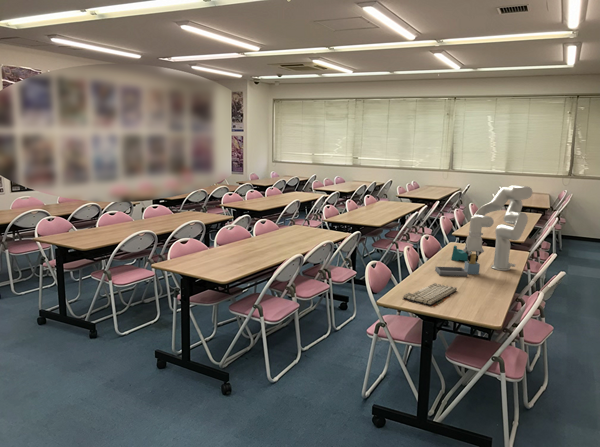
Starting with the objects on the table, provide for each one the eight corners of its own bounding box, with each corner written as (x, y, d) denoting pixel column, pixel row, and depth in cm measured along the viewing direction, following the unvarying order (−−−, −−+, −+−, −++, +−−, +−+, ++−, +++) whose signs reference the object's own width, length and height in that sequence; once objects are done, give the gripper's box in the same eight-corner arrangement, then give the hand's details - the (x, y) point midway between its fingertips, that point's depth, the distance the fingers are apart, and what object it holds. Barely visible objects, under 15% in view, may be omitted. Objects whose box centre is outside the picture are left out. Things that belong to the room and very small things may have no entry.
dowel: (473, 272, 321) (475, 253, 319) (475, 273, 317) (477, 255, 315) (467, 271, 321) (469, 253, 319) (469, 273, 317) (471, 254, 315)
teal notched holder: (466, 263, 347) (468, 249, 345) (451, 259, 352) (453, 246, 350) (470, 258, 362) (473, 245, 360) (456, 254, 367) (459, 242, 365)
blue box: (475, 271, 323) (476, 261, 321) (478, 274, 315) (479, 264, 314) (464, 271, 323) (464, 261, 322) (467, 274, 315) (468, 264, 314)
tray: (461, 271, 321) (461, 267, 321) (467, 276, 309) (467, 272, 309) (435, 270, 322) (435, 266, 321) (439, 275, 310) (440, 271, 309)
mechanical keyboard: (429, 285, 290) (429, 280, 289) (459, 292, 278) (460, 287, 278) (400, 300, 261) (401, 295, 260) (433, 309, 249) (433, 303, 249)
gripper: (485, 234, 318) (482, 260, 321) (460, 233, 318) (458, 259, 321) (489, 236, 310) (486, 263, 314) (464, 235, 311) (461, 262, 314)
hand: (472, 260), depth 317 cm, fingers closed on dowel, 4 cm apart
